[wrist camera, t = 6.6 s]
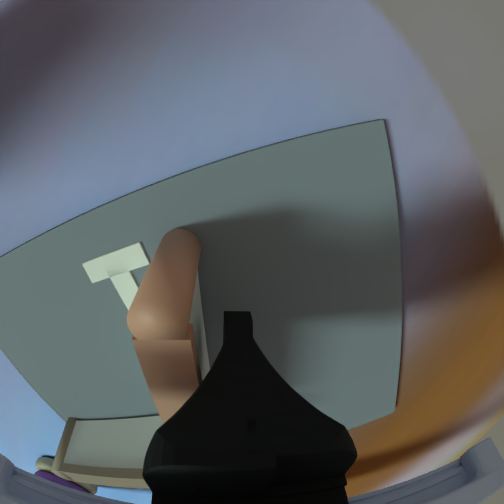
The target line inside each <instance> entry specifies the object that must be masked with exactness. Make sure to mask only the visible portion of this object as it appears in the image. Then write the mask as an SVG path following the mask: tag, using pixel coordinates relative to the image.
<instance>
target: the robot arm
mask: <svg viewBox="0 0 504 504" xmlns="http://www.w3.org/2000/svg"><path fill="white" fill-rule="evenodd" d="M356 458H357V451H356V448H355V445H354V442H353V440H352V438H351V437H350V435H349V433H348V431H347V429H346V427H345V426H344V425H342V424H341V423H339V422H337V421H336V420H334V419H332V418H331V417H329V416H327V415H326V414H324V413H322V412H321V411H320V410H318V409H317V408H316V407H314V406H313V405H312V404H310V403H309V402H308V401H307V400H306V399H304V398H303V397H302V396H301V395H300V394H299V393H297V392H296V391H295V390H294V389H293V388H292V387H291V386H290V385H289V384H288V383H287V382H286V381H285V380H284V379H283V378H282V377H281V376H280V374H279V373H278V372H277V371H276V370H275V369H274V367H273V366H272V365H271V364H270V362H269V361H268V360H267V358H266V357H265V355H264V354H263V353H262V351H261V350H260V348H259V346H258V345H257V343H256V341H255V340H254V338H253V320H252V316H251V312H250V311H224V321H223V346H222V348H221V350H220V352H219V354H218V356H217V358H216V360H215V362H214V364H213V365H212V367H211V369H210V370H209V372H208V373H207V375H206V377H205V378H204V380H203V381H202V382H201V384H200V385H199V386H198V388H197V389H196V390H195V392H194V393H193V394H192V395H191V397H190V398H189V399H188V400H187V401H186V402H185V403H184V404H183V405H182V407H181V408H180V409H179V410H178V411H177V412H176V413H175V414H174V415H173V416H172V417H171V418H169V419H168V420H167V421H166V422H165V423H164V424H163V425H162V426H160V427H159V428H158V429H157V430H156V431H155V433H154V435H153V437H152V439H151V441H150V444H149V446H148V449H147V452H146V455H145V458H144V464H143V472H142V476H143V479H144V480H145V482H146V484H147V485H148V487H149V488H150V490H151V491H152V503H151V504H479V503H481V502H483V501H484V500H486V499H487V498H488V497H490V496H491V495H493V494H494V493H496V492H497V491H498V490H500V489H501V488H502V487H504V460H503V458H502V456H501V455H500V453H499V451H498V449H497V448H496V446H495V444H494V442H493V441H492V439H491V438H487V439H485V440H484V441H482V442H480V443H478V444H477V445H474V446H473V447H471V448H470V449H468V450H467V451H466V452H465V453H464V454H463V455H462V456H461V457H460V459H458V460H456V461H453V462H451V463H449V464H447V465H445V466H443V467H440V468H438V469H436V470H433V471H431V472H429V473H426V474H424V475H421V476H418V477H416V478H413V479H411V480H408V481H405V482H402V483H399V484H396V485H393V486H390V487H387V488H384V489H380V490H377V491H374V492H370V493H366V494H363V495H359V496H355V497H351V498H347V495H346V491H345V487H344V486H346V485H347V481H346V478H345V473H346V472H347V470H348V469H349V468H350V467H351V466H352V464H353V463H354V462H355V460H356ZM0 504H133V503H128V502H123V501H118V500H113V499H109V498H105V497H101V496H97V495H93V494H89V493H86V492H82V491H79V490H75V489H72V488H69V487H66V486H63V485H60V484H57V483H54V482H51V481H49V480H46V479H43V478H41V477H38V476H36V475H33V474H31V473H29V472H26V471H24V470H22V469H19V468H17V467H15V466H14V464H13V463H12V462H11V461H10V460H9V459H7V458H6V457H5V456H3V455H2V454H0Z"/></svg>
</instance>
